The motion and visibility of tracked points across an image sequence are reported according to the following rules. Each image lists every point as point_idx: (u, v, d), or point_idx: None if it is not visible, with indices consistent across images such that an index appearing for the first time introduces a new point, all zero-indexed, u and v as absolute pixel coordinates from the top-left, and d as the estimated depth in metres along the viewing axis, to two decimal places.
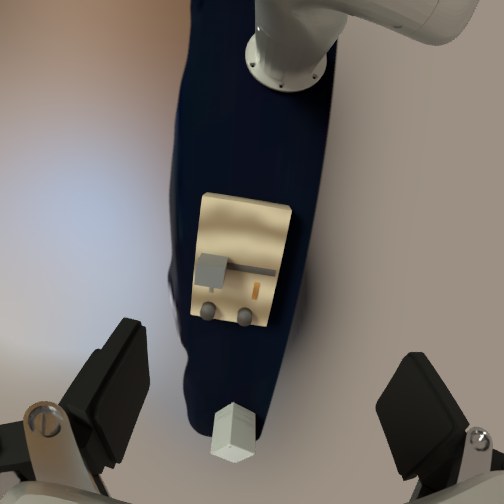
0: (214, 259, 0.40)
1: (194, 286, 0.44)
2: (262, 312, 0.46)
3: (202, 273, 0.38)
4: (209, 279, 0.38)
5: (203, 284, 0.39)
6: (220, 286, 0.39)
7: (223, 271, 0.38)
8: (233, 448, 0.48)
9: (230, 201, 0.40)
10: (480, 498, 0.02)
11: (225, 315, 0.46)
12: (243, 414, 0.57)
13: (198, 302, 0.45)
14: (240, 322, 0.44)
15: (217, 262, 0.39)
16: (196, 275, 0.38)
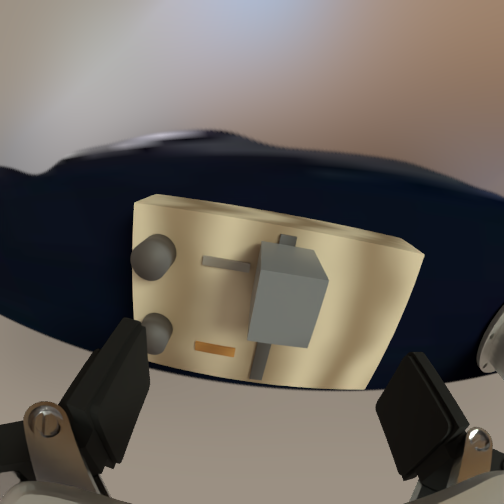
0: None
1: (216, 219, 0.17)
2: (166, 355, 0.21)
3: (298, 297, 0.13)
4: (278, 313, 0.13)
5: (260, 295, 0.13)
6: (255, 336, 0.14)
7: (299, 345, 0.14)
8: None
9: (403, 305, 0.18)
10: (480, 498, 0.02)
11: (145, 287, 0.19)
12: None
13: (170, 226, 0.17)
14: None
15: None
16: (291, 278, 0.13)
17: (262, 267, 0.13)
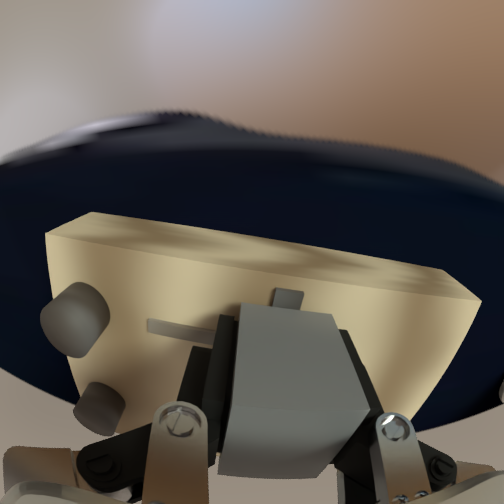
0: None
1: (162, 263, 0.09)
2: (124, 426, 0.13)
3: (308, 435, 0.06)
4: (269, 453, 0.06)
5: (235, 436, 0.06)
6: (231, 472, 0.06)
7: (304, 477, 0.07)
8: None
9: (444, 367, 0.11)
10: (480, 498, 0.02)
11: None
12: None
13: (96, 272, 0.10)
14: (81, 412, 0.10)
15: None
16: (297, 415, 0.05)
17: (236, 395, 0.05)
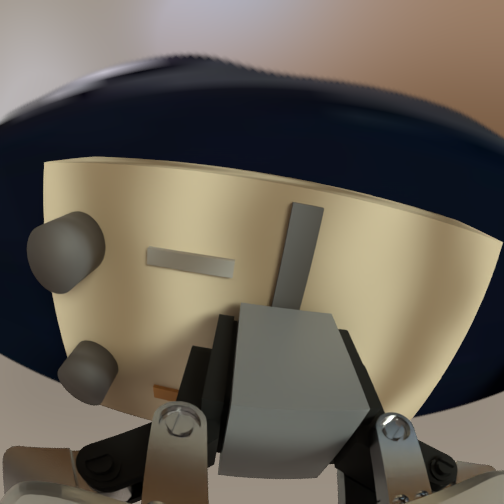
0: None
1: (167, 177, 0.08)
2: (117, 399, 0.12)
3: (308, 435, 0.06)
4: (269, 453, 0.06)
5: (235, 436, 0.06)
6: (231, 472, 0.06)
7: (304, 476, 0.07)
8: None
9: (470, 319, 0.10)
10: (480, 498, 0.02)
11: (69, 301, 0.10)
12: None
13: (94, 197, 0.09)
14: (66, 373, 0.09)
15: None
16: (296, 415, 0.05)
17: (235, 396, 0.05)
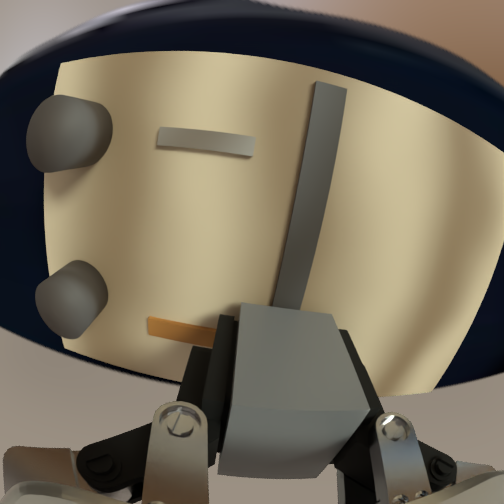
0: None
1: (189, 58, 0.07)
2: (104, 344, 0.11)
3: (308, 435, 0.06)
4: (269, 453, 0.06)
5: (235, 435, 0.06)
6: (231, 472, 0.06)
7: (304, 477, 0.07)
8: None
9: (499, 246, 0.09)
10: (480, 498, 0.02)
11: (61, 210, 0.09)
12: None
13: (108, 85, 0.07)
14: (45, 292, 0.08)
15: None
16: (297, 415, 0.05)
17: (236, 395, 0.05)
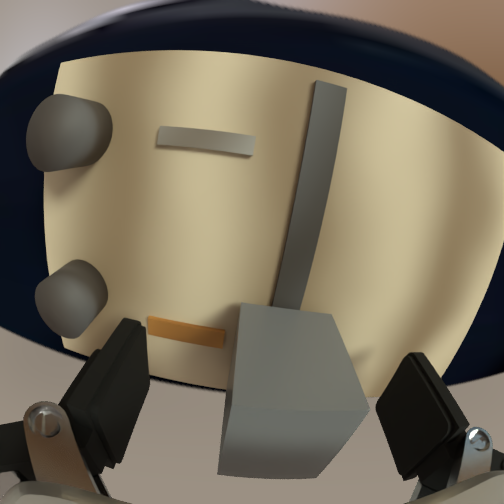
0: None
1: (189, 58, 0.07)
2: (104, 344, 0.11)
3: (308, 435, 0.06)
4: (269, 453, 0.06)
5: (235, 435, 0.06)
6: (231, 472, 0.06)
7: (304, 477, 0.07)
8: None
9: (499, 245, 0.09)
10: (480, 498, 0.02)
11: (61, 209, 0.09)
12: None
13: (108, 84, 0.07)
14: (44, 292, 0.08)
15: None
16: (297, 415, 0.05)
17: (235, 395, 0.05)
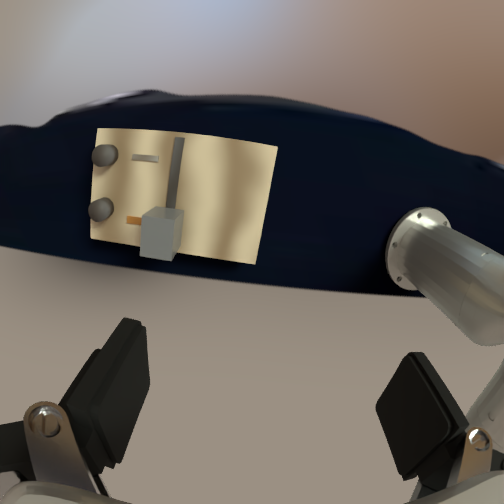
0: (178, 235, 0.27)
1: (140, 132, 0.26)
2: (109, 231, 0.29)
3: (160, 229, 0.25)
4: (152, 239, 0.25)
5: (143, 229, 0.24)
6: (143, 253, 0.25)
7: (166, 258, 0.26)
8: None
9: (268, 185, 0.28)
10: (480, 498, 0.02)
11: (99, 179, 0.27)
12: None
13: (116, 139, 0.26)
14: (93, 205, 0.26)
15: (175, 243, 0.27)
16: (156, 219, 0.24)
17: (143, 214, 0.24)
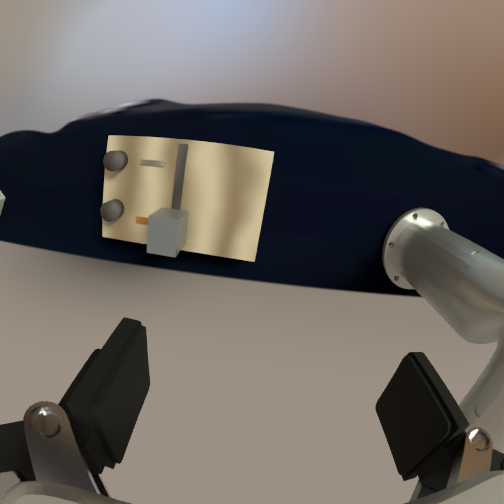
0: (182, 233, 0.30)
1: (147, 139, 0.29)
2: (119, 230, 0.32)
3: (165, 228, 0.27)
4: (158, 237, 0.27)
5: (150, 228, 0.27)
6: (150, 250, 0.28)
7: (171, 255, 0.28)
8: None
9: (265, 187, 0.31)
10: (480, 498, 0.02)
11: (110, 183, 0.30)
12: None
13: (125, 145, 0.29)
14: (104, 206, 0.29)
15: (180, 241, 0.29)
16: (161, 219, 0.27)
17: (150, 215, 0.27)
